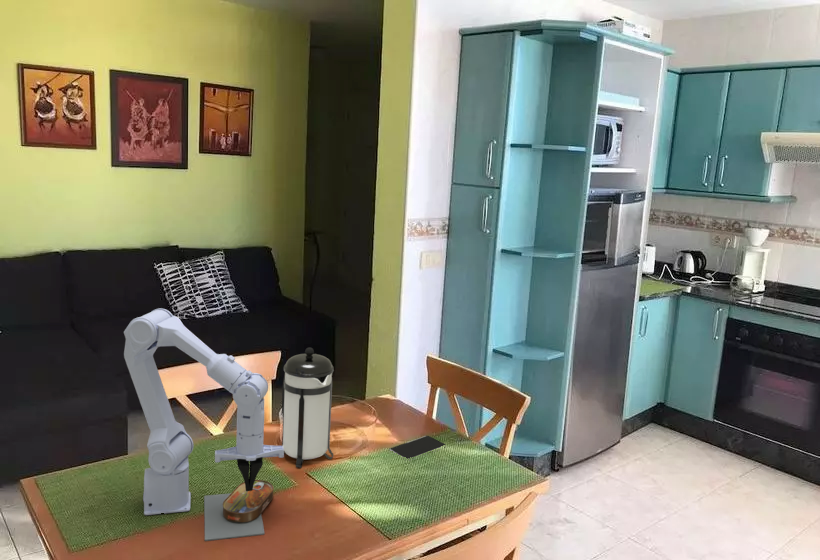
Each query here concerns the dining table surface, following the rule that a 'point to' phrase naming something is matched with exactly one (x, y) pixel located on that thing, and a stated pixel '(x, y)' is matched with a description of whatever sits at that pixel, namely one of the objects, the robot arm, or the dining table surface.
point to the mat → (226, 521)
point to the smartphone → (417, 447)
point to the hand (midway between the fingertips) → (248, 488)
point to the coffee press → (307, 406)
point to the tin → (247, 501)
